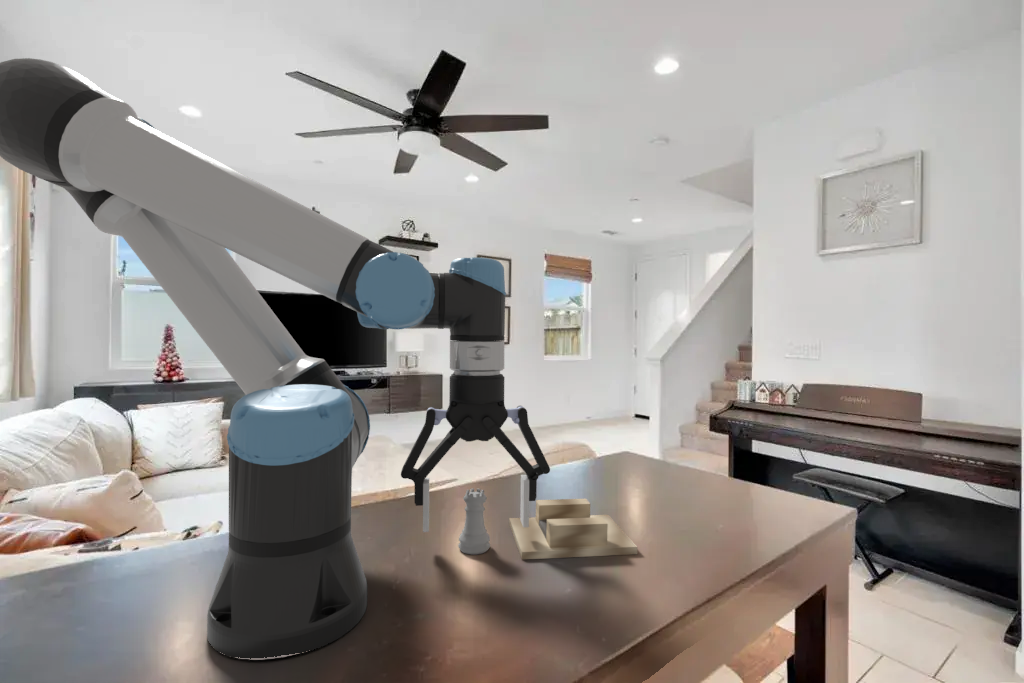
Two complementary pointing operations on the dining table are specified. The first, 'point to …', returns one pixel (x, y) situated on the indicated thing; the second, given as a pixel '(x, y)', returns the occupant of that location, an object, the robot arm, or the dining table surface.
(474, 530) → the rook chess piece
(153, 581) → the dining table surface
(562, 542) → the birch mount
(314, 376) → the robot arm
